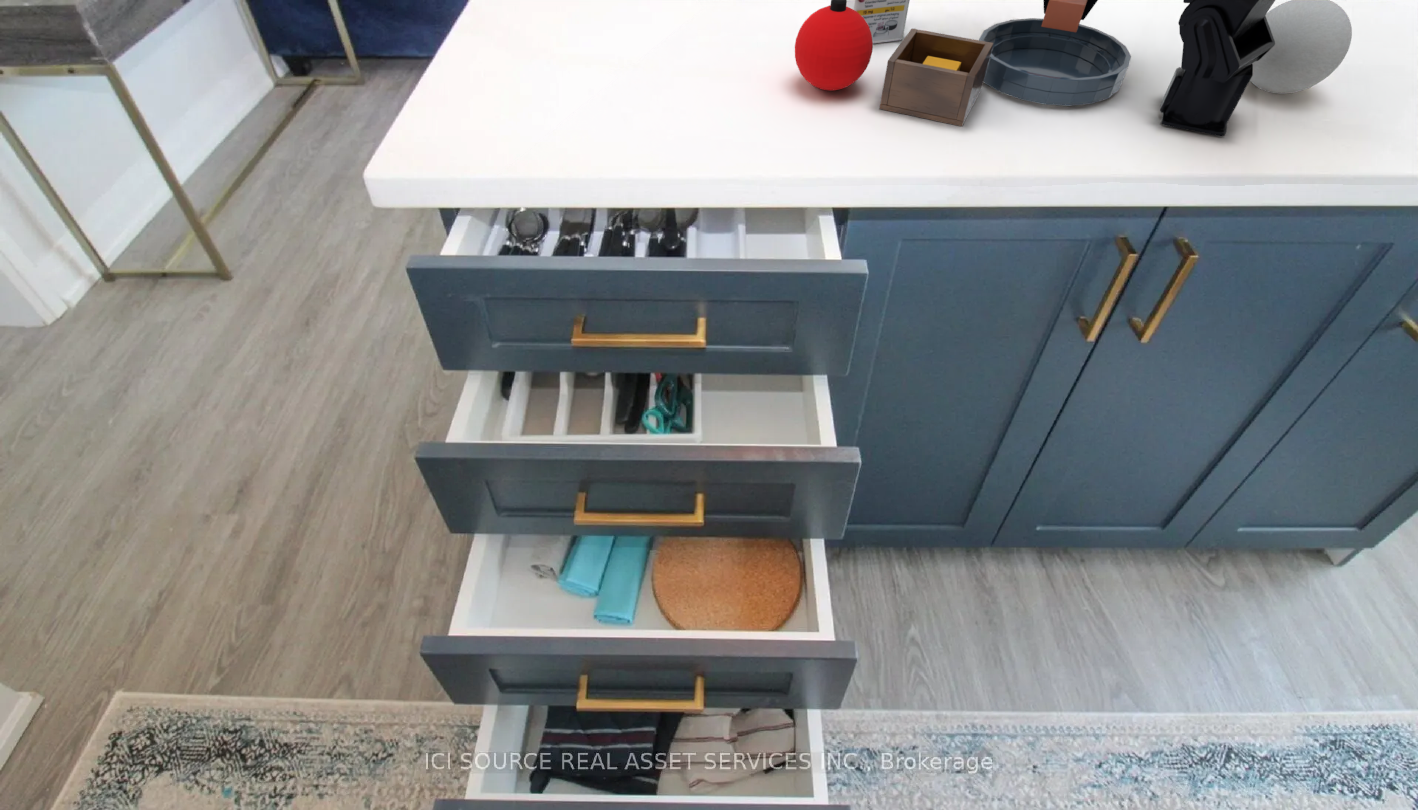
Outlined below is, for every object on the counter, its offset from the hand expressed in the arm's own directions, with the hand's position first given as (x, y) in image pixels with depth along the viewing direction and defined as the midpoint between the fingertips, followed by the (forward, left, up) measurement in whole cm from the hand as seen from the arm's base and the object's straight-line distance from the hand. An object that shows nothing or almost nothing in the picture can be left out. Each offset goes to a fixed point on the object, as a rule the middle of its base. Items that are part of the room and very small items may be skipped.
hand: (1064, 15), depth 90 cm
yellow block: (+11, +15, -5) cm, 20 cm away
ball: (-25, -5, -6) cm, 26 cm away
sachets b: (0, 0, 0) cm, 0 cm away
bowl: (0, +3, -6) cm, 7 cm away
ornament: (+23, +17, -6) cm, 29 cm away
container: (+24, 0, -6) cm, 25 cm away
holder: (+11, +15, -6) cm, 20 cm away
